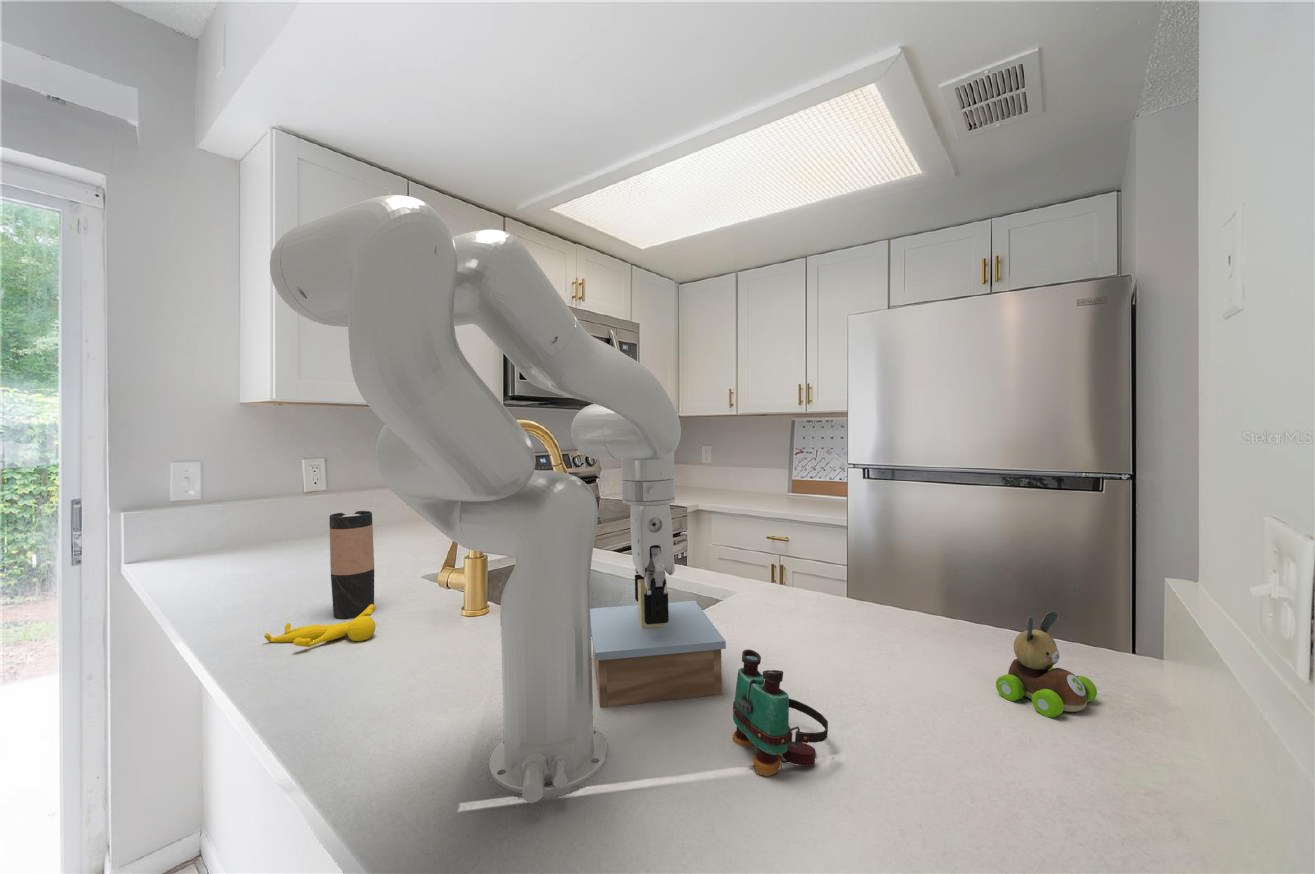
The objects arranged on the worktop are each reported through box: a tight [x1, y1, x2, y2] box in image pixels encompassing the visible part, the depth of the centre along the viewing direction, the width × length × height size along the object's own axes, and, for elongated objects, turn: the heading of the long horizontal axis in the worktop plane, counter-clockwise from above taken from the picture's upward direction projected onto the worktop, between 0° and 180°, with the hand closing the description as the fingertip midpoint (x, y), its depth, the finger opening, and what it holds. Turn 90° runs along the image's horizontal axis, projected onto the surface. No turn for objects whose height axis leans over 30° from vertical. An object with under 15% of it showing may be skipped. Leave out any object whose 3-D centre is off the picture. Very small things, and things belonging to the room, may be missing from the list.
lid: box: [590, 579, 727, 661], centre depth 79 cm, size 17×17×7 cm
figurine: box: [263, 604, 376, 648], centre depth 97 cm, size 14×5×18 cm
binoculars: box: [732, 648, 829, 776], centre depth 61 cm, size 9×11×10 cm
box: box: [592, 648, 723, 708], centre depth 79 cm, size 16×16×7 cm
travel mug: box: [329, 510, 375, 620], centre depth 110 cm, size 8×8×20 cm
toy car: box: [995, 610, 1098, 719], centre depth 71 cm, size 9×9×11 cm
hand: (650, 611), depth 79 cm, fingers open, 9 cm apart
